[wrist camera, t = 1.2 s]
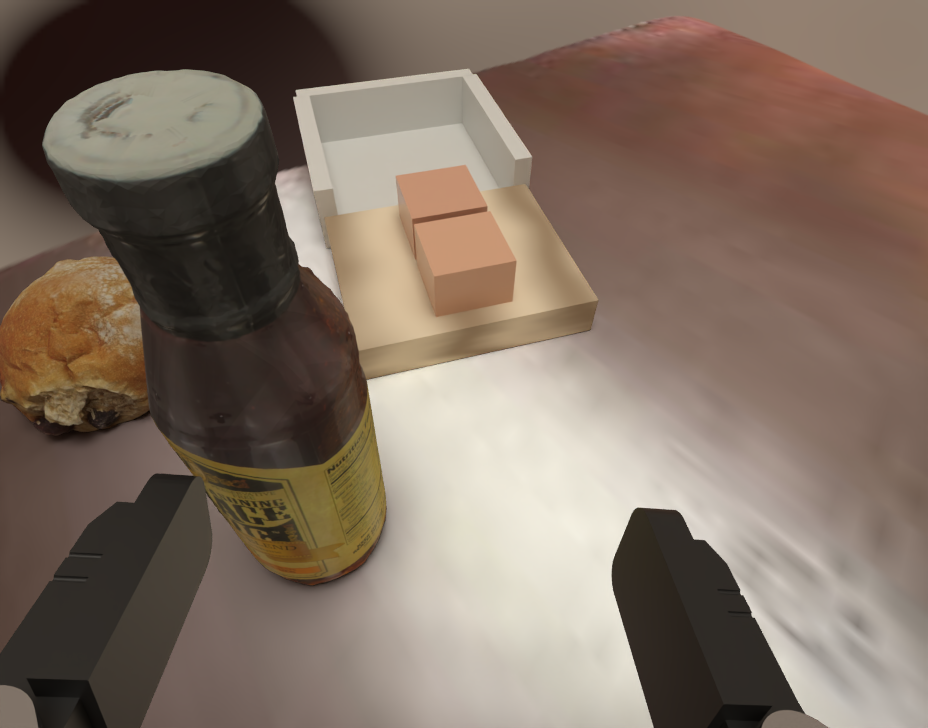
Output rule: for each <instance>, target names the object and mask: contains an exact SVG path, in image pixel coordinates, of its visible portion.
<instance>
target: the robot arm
mask: <svg viewBox="0 0 928 728" xmlns="http://www.w3.org/2000/svg"><path fill="white" fill-rule="evenodd" d="M211 548H212V530H211V523H210V517H209V510H208V504H207V497H206V491H205V485H204V481H203V479H202V477H200V476H187V475H172V474H154V475H153V476H152V477H151V478H150V479H149V480H148V482H147V483H146V485H145V486H144V488H143V490H142V491H141V493H140V495H139V496H138V498H137V499H136V501H135V503H128V502H116V503H115V504H114V505H112V506H111V507H110V508H109V509H107V510H106V511H105V512H103V513H102V514H101V515H100V516H98V517H97V518H96V519H95V520H93V521H92V522H91V523H89V524H88V526H87V527H86V529H85V530H84V531H83V533H82V534H81V536H80V537H79V539H78V540H77V542H76V543H75V545H74V546H73V548H72V549H71V551H70V554H69V557H68V558H65V559H64V561H63V562H62V564H61V565H60V567H59V568H58V570H57V571H56V573H55V574H54V579H53V581H49V583H48V584H47V586H46V587H45V589H44V590H43V592H42V593H41V595H40V596H39V598H38V599H37V601H36V602H35V603H34V605H33V606H32V608H31V609H30V611H29V612H28V614H27V615H26V617H25V618H24V620H23V621H22V623H21V624H20V625H19V627H18V628H17V630H16V631H15V633H14V634H13V636H12V637H11V639H10V640H9V642H8V643H7V645H6V646H5V648H4V649H3V650H2V652H1V653H0V728H140V727H141V725H142V722H143V720H144V717H145V715H146V713H147V710H148V708H149V705H150V703H151V701H152V698H153V696H154V693H155V691H156V689H157V686H158V684H159V681H160V679H161V677H162V674H163V672H164V669H165V667H166V665H167V662H168V660H169V657H170V655H171V653H172V650H173V648H174V645H175V643H176V641H177V638H178V636H179V633H180V631H181V629H182V626H183V624H184V621H185V619H186V617H187V614H188V612H189V609H190V607H191V605H192V602H193V600H194V597H195V595H196V593H197V590H198V588H199V585H200V583H201V581H202V578H203V576H204V573H205V571H206V568H207V565H208V562H209V558H210V554H211ZM612 586H613V591H614V595H615V598H616V602H617V605H618V608H619V612H620V615H621V618H622V622H623V625H624V628H625V632H626V635H627V639H628V642H629V645H630V649H631V652H632V655H633V659H634V662H635V666H636V669H637V672H638V676H639V679H640V682H641V686H642V689H643V693H644V696H645V699H646V703H647V706H648V709H649V713H650V716H651V719H652V723H653V726H654V728H828V727H827V726H825V725H824V724H822V723H821V722H819V721H818V720H816V719H814V718H812V717H810V716H808V715H806V714H805V713H804V711H803V710H802V708H801V706H800V704H799V703H798V701H797V699H796V697H795V695H794V693H793V691H792V689H791V687H790V685H789V684H788V682H787V680H786V678H785V676H784V674H783V672H782V670H781V668H780V666H779V664H778V662H777V660H776V658H775V656H774V654H773V652H772V651H771V649H770V647H769V645H768V643H767V641H766V639H765V637H764V635H763V633H762V631H761V629H760V627H759V625H758V623H757V621H756V619H755V618H752V616H751V613H752V612H751V610H750V608H749V606H748V604H747V602H746V600H745V598H744V596H743V595H741V594H740V588H739V586H738V585H737V583H736V581H735V579H734V577H733V575H732V573H731V571H730V569H729V567H728V565H727V563H726V562H725V561H724V560H723V559H722V558H721V557H720V556H719V555H718V554H717V553H716V552H715V551H714V550H713V549H712V548H711V546H710V545H709V544H708V543H707V542H706V541H705V540H694V539H693V537H692V535H691V533H690V531H689V529H688V527H687V525H686V522H685V520H684V518H683V517H682V515H681V514H680V513H679V512H678V511H676V510H665V509H650V508H636V509H635V510H634V511H633V513H632V515H631V517H630V520H629V522H628V525H627V527H626V530H625V532H624V535H623V537H622V539H621V542H620V544H619V547H618V549H617V552H616V554H615V557H614V560H613V564H612Z"/></svg>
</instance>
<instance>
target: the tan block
mask: <svg viewBox="0 0 928 728" xmlns="http://www.w3.org/2000/svg"><path fill="white" fill-rule="evenodd" d="M414 231H415V244H416V258H417V266H418V269H419V272H420V275H421V278H422V280H423V283H424V286H425V289H426V291H427V294H428V297H429V300H430V302H431V305H432V308H433V311H434V314H435V316H436V317H439V316H444V315H449V314H454V313H459V312H464V311H469V310H473V309H478V308H483V307H488V306H493V305H498V304H503V303H508V302H512V301H513V292H514V282H515V272H516V262H517V260H516V258H515V257H514V255H513V253H512V251H511V249H510V247H509V245H508V243H507V242H506V240H505V238H504V236H503V234H502V232H501V230H500V228H499V226H498V225H497V223H496V221H495V219H494V217H493V215H492V213H491V211H488V212H482V213H476V214H470V215H464V216H459V217H453V218H447V219H441V220H436V221H430V222H424V223H418V224H414Z"/></svg>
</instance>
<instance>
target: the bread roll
mask: <svg viewBox="0 0 928 728" xmlns="http://www.w3.org/2000/svg"><path fill="white" fill-rule="evenodd" d="M0 382H1V385H2V389H1V397H0V399H1V401H3V402H6V403H9V404H13V406H15V407H16V408H17V409H18V410H19V411H21V412H22V413H23V414H24V415H25V416H26V417H27V418H28V419H29V420H30V421H32V422H34V427H35V428H37V429H38V430H39V431H41V432H43V433H44V434H48V435H49V434H53V435H60V434H62V433H64V432H69V431H71V430H77V431H80V432H90V431H95V430H98V429H105V428H110V427H112V426H114V425H116V424H118V423H122V422H126V421H129V420H133V419H135V418H137V417H139V416H141V415H143V414H144V413H146V412H148V411H149V410H150V409H149V403H148V393H147V383H146V373H145V362H144V352H143V342H142V331H141V319H140V306H139V304H138V303H137V301H136V300H135V297H134V294H133V291H132V287H131V285H130V283H129V281H128V279H127V278H126V276H125V275H124V272H123V271H122V269H121V267H120V265H119V264H118V262H117V260H116V259H115V258H113V257H89V258H84V259H82V260H70V259H67V260H63V261H60V262H57V263H56V264H55V265H54V266H53V267H52V268H51V269H50V270H49V271H48V272H47V273H46V274H45V275H44V276H42V277H41V278H39V279H37V280H35V281H34V282H33V283H32V284H30V285H29V286H28V287H27V288H26V289H25V290H23V291H22V293H21V294H20V295H19V296H18V298H17V299H16V300H15V302H14V303H13V304H12V306H11V307H10V309H9V310H8V312H7V313H6V315H5V317H4V318H3V321H2V324H1V326H0ZM88 421H89V422H88Z"/></svg>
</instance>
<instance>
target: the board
mask: <svg viewBox="0 0 928 728" xmlns="http://www.w3.org/2000/svg"><path fill="white" fill-rule="evenodd" d="M480 193H481V195H482V196H483V198H484V200H485V202H486V204H487V206H488V209H487V212H488V211H491V213H492V215H493V217H494V219H495V221H496V223H497V225H498V226H499V228H500V230H501V232H502V234H503V236H504V238H505V240H506V242H507V243H508V245H509V247H510V249H511V251H512V253H513V255H514V257H515V258H516V260H517V262H516V272H515V282H514V292H513V301H512V302H508V303H503V304H498V305H493V306H488V307H483V308H478V309H473V310H469V311H464V312H459V313H454V314H449V315H444V316H439V317H436V316H435V314H434V311H433V308H432V305H431V302H430V300H429V297H428V294H427V291H426V289H425V286H424V283H423V280H422V278H421V275H420V272H419V269H418V266H417V260H415V258H414V255H413V253H412V250H411V247H410V244H409V241H408V239H407V236H406V233H405V230H404V228H403V225H402V222H401V219H400V217H399V207H398V205H395V206H389V207H383V208H377V209H371V210H365V211H359V212H353V213H347V214H341V215H335V216H329V217H324V219H325V223H326V228H327V232H328V237H329V241H330V246H331V250H332V255H333V259H334V264H335V268H336V273H337V277H338V282H339V286H340V290H341V295H342V299H343V304H344V308H345V311H346V312H347V313H348V315H349V319H350V321H351V323H352V325H353V328H354V332H355V335H356V341H357V345H358V350H359V362H360V364H361V366H362V368H363V371H364V374H365V376H366V379H371V378H375V377H380V376H384V375H389V374H393V373H398V372H402V371H407V370H411V369H416V368H420V367H425V366H430V365H434V364H439V363H443V362H448V361H452V360H457V359H461V358H466V357H470V356H475V355H479V354H484V353H488V352H493V351H497V350H502V349H506V348H511V347H515V346H520V345H524V344H529V343H533V342H538V341H543V340H547V339H552V338H556V337H561V336H565V335H570V334H574V333H579V332H583V331H588V330H591V326H592V322H593V319H594V315H595V311H596V307H597V304H598V299H597V297H596V296H595V294H594V292H593V291H592V289H591V288H590V286H589V284H588V283H587V281H586V280H585V278H584V276H583V275H582V273H581V272H580V270H579V268H578V267H577V265H576V264H575V262H574V260H573V259H572V257H571V256H570V254H569V253H568V251H567V249H566V248H565V246H564V245H563V243H562V241H561V240H560V238H559V237H558V235H557V233H556V232H555V230H554V229H553V227H552V225H551V224H550V222H549V221H548V219H547V217H546V216H545V214H544V213H543V211H542V210H541V208H540V206H539V205H538V203H537V202H536V200H535V198H534V197H533V195H532V194H531V192H530V190H529V189H528V187H527V186H526V184H522V185H516V186H510V187H504V188H498V189H492V190H486V191H480Z"/></svg>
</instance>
